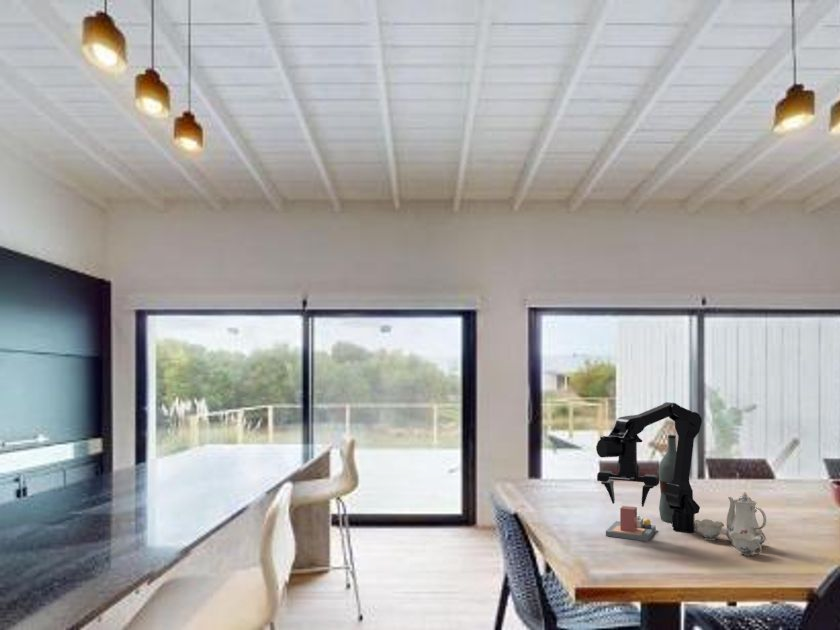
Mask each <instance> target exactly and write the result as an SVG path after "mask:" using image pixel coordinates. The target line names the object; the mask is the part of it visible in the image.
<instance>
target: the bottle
mask: <svg viewBox="0 0 840 630" xmlns="http://www.w3.org/2000/svg"><path fill="white" fill-rule="evenodd" d="M676 438H677V437H676V434H668V435H667V451H666V453H665V454H664V456H663V457H662V459H661V461H660V462H659V465H658V466H659V467H658V477H659V489H660V498H659V505H658V507H659V508H658V509H659V516H660V517H659V518H660V520H661V521H662V522H665V523H671V524H672V515H673V514H674V510H673V509H670V507H669V504H668V502H667V501H666V495H664V494H665V491H666V483H671V482H672V480H673V478H674V470H675V462H676V453H677V439H676Z"/></svg>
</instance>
